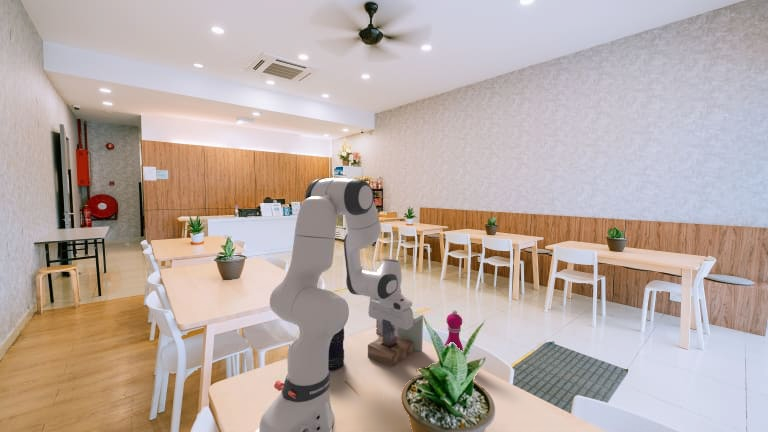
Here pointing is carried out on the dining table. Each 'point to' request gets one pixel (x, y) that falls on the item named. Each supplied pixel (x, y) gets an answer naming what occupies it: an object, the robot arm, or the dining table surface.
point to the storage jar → (336, 351)
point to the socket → (390, 351)
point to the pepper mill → (454, 329)
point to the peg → (388, 335)
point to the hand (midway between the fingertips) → (389, 333)
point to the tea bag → (378, 328)
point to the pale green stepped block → (414, 332)
